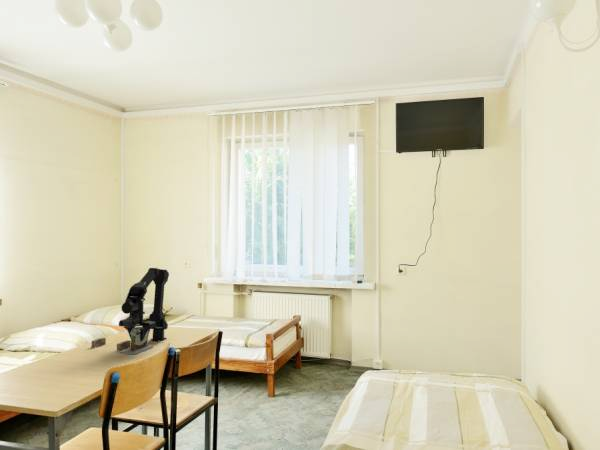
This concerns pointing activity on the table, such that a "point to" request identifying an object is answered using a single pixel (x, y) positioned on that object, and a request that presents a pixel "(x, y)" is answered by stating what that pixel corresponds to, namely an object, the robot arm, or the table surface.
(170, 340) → the table surface
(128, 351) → the mat
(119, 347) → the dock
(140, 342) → the food container
